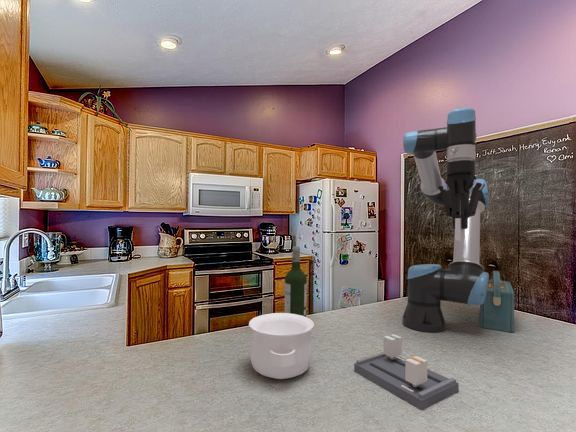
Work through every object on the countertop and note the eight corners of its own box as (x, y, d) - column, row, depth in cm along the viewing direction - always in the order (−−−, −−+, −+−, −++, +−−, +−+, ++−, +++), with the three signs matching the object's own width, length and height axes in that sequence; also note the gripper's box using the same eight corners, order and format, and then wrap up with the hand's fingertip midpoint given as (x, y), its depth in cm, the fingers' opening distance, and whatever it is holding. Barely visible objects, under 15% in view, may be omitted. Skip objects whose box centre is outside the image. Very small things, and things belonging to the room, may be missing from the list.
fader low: (405, 385, 72) (405, 358, 72) (416, 380, 74) (416, 354, 74) (416, 391, 70) (416, 363, 70) (427, 386, 72) (427, 359, 72)
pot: (323, 388, 75) (323, 336, 75) (249, 394, 72) (250, 340, 72) (304, 350, 97) (304, 310, 97) (246, 353, 94) (247, 312, 94)
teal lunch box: (515, 334, 113) (515, 278, 114) (479, 328, 119) (480, 275, 119) (510, 316, 135) (510, 269, 135) (480, 312, 141) (481, 267, 141)
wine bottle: (310, 330, 114) (311, 247, 114) (292, 335, 109) (293, 248, 109) (297, 324, 120) (298, 245, 120) (279, 328, 116) (281, 246, 116)
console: (354, 371, 84) (354, 360, 84) (389, 359, 91) (389, 349, 91) (421, 410, 67) (421, 396, 67) (458, 391, 74) (458, 379, 74)
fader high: (383, 358, 86) (383, 335, 86) (393, 354, 89) (393, 333, 89) (392, 362, 84) (392, 339, 84) (401, 358, 86) (402, 336, 86)
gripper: (433, 163, 99) (432, 239, 98) (476, 156, 88) (476, 241, 87) (446, 165, 103) (446, 238, 102) (490, 159, 92) (489, 241, 91)
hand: (460, 240), depth 95 cm, fingers closed
